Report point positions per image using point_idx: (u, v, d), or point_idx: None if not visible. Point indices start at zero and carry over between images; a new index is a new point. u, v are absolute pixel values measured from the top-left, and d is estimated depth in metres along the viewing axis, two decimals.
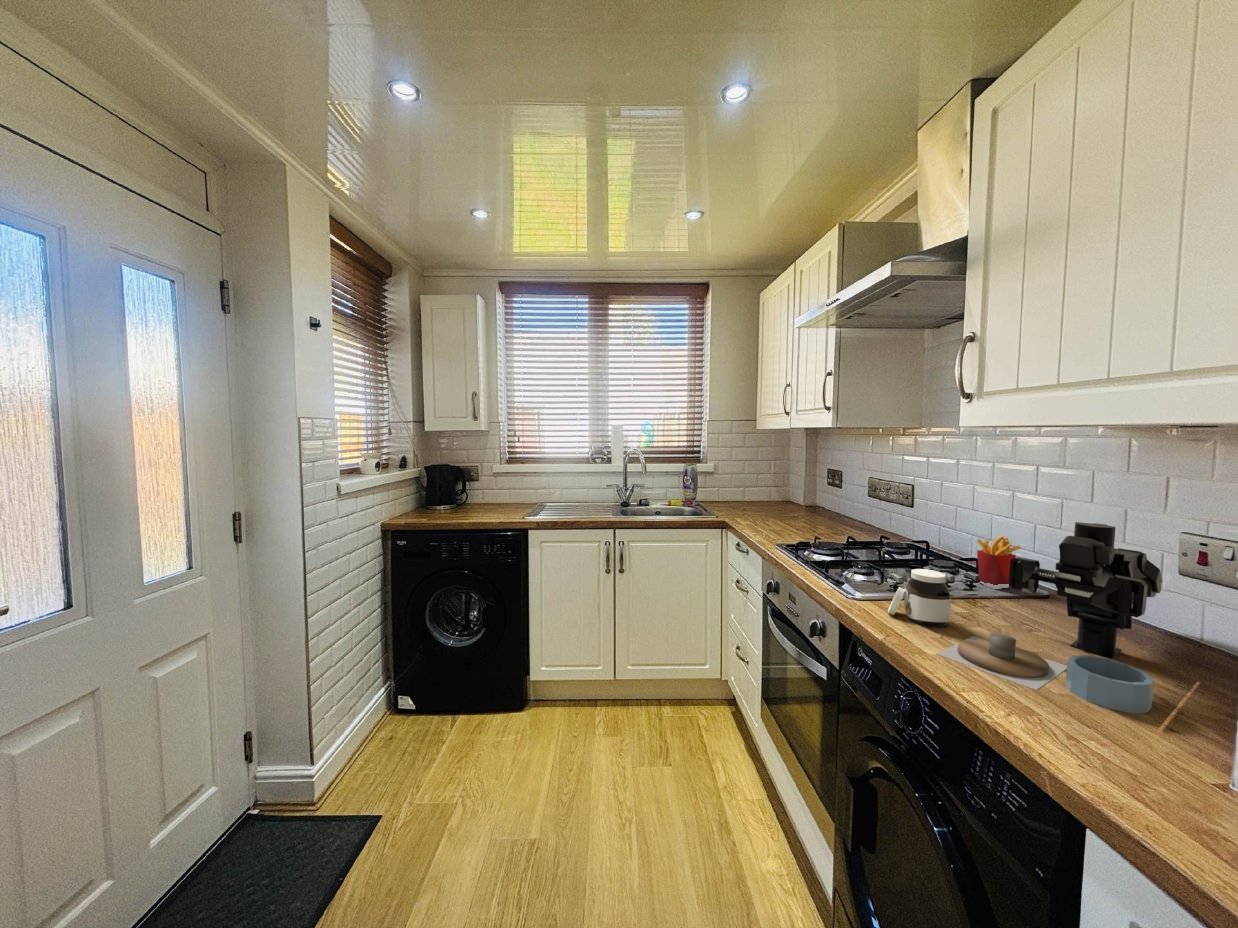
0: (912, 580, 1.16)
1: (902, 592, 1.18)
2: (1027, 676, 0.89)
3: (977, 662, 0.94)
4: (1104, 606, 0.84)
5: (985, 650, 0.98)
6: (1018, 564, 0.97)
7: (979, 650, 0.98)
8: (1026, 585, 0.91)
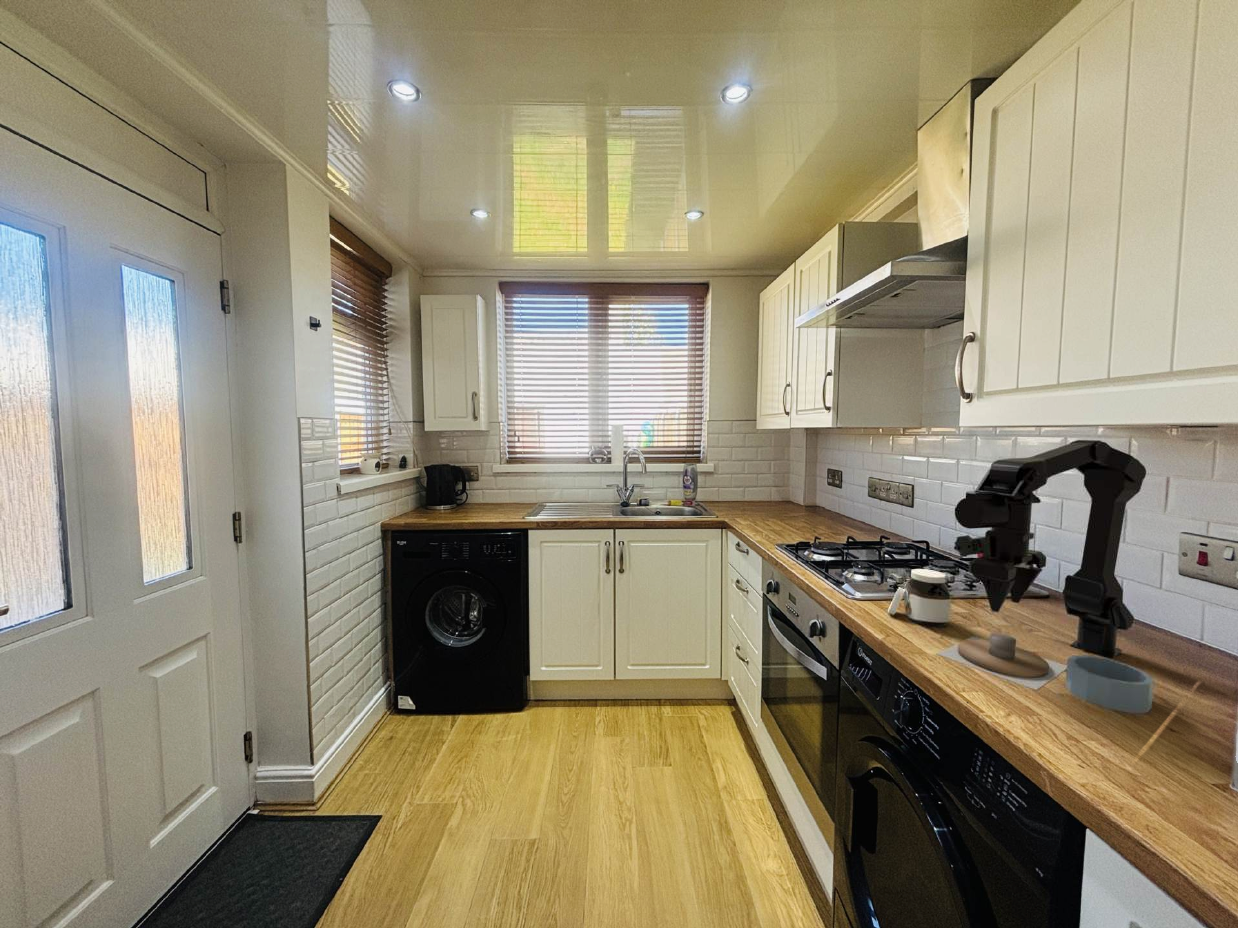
0: (912, 580, 1.16)
1: (902, 592, 1.18)
2: (1027, 676, 0.89)
3: (977, 662, 0.94)
4: (1002, 598, 0.91)
5: (985, 650, 0.98)
6: None
7: (979, 650, 0.98)
8: (1016, 598, 0.98)
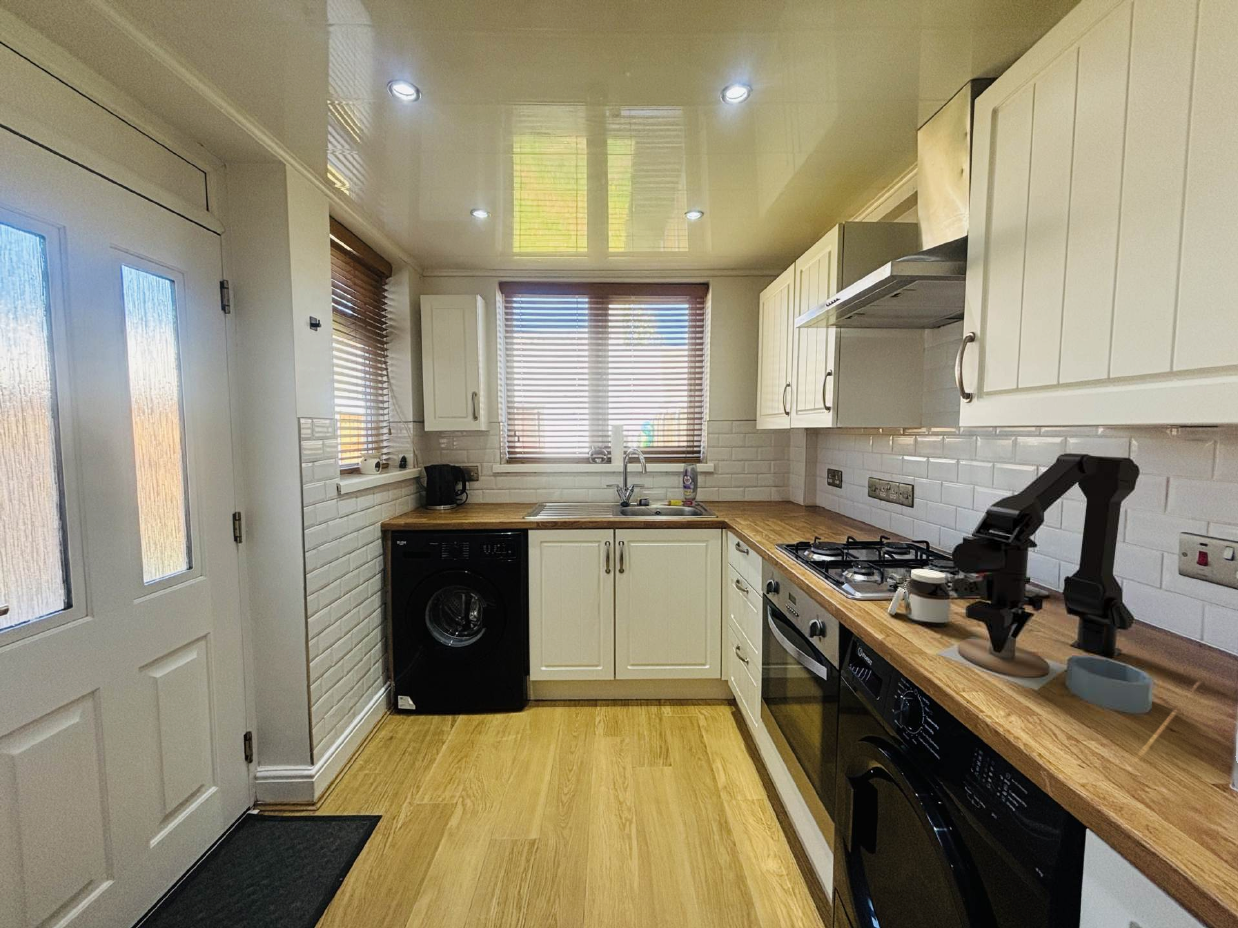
0: (912, 580, 1.16)
1: (902, 592, 1.18)
2: (1027, 676, 0.89)
3: (977, 662, 0.94)
4: (1004, 640, 0.93)
5: (985, 650, 0.98)
6: None
7: (979, 650, 0.98)
8: None
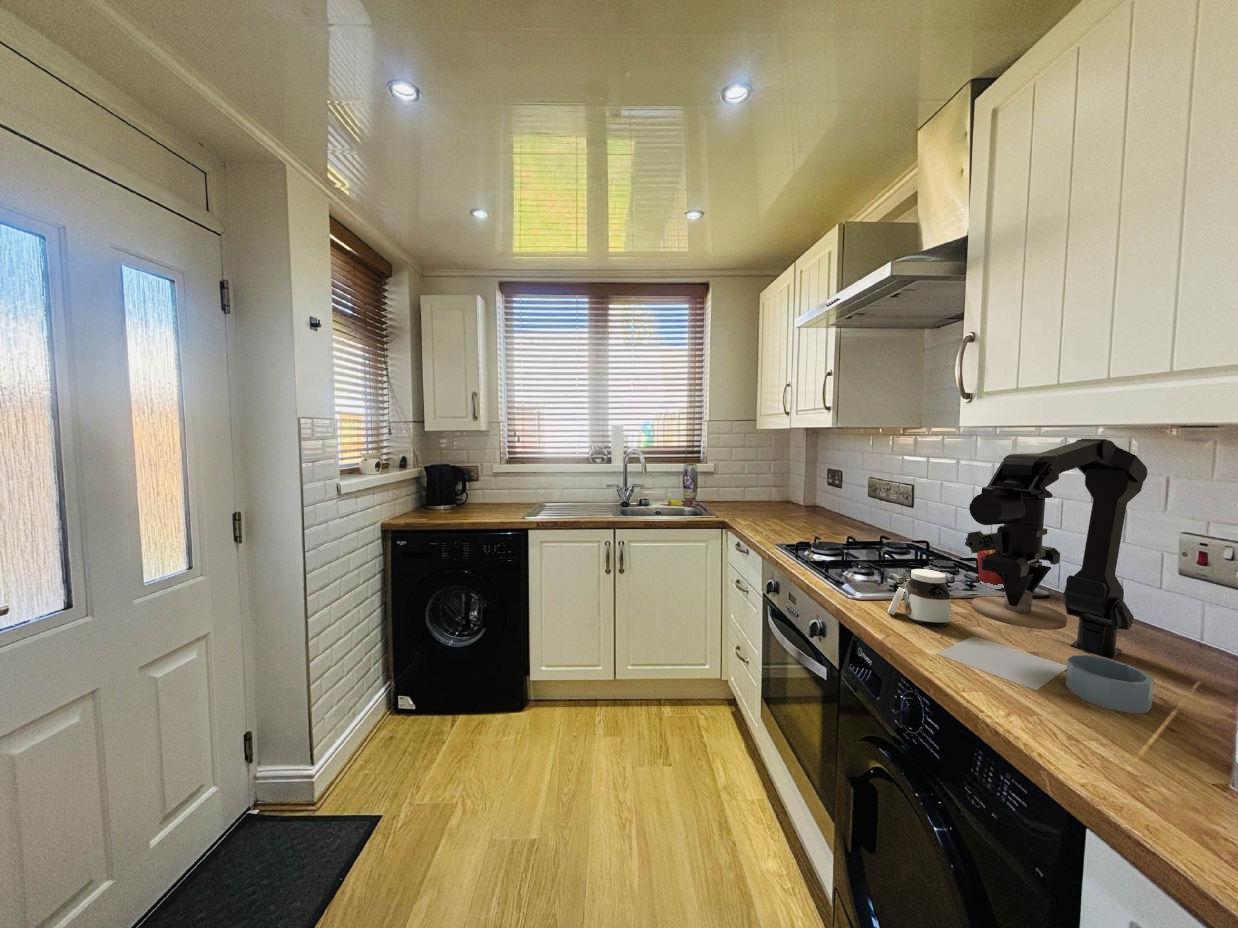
0: (912, 580, 1.16)
1: (902, 592, 1.18)
2: (1044, 627, 0.87)
3: (992, 615, 0.91)
4: (1020, 593, 0.91)
5: (1000, 605, 0.96)
6: None
7: (994, 605, 0.96)
8: None
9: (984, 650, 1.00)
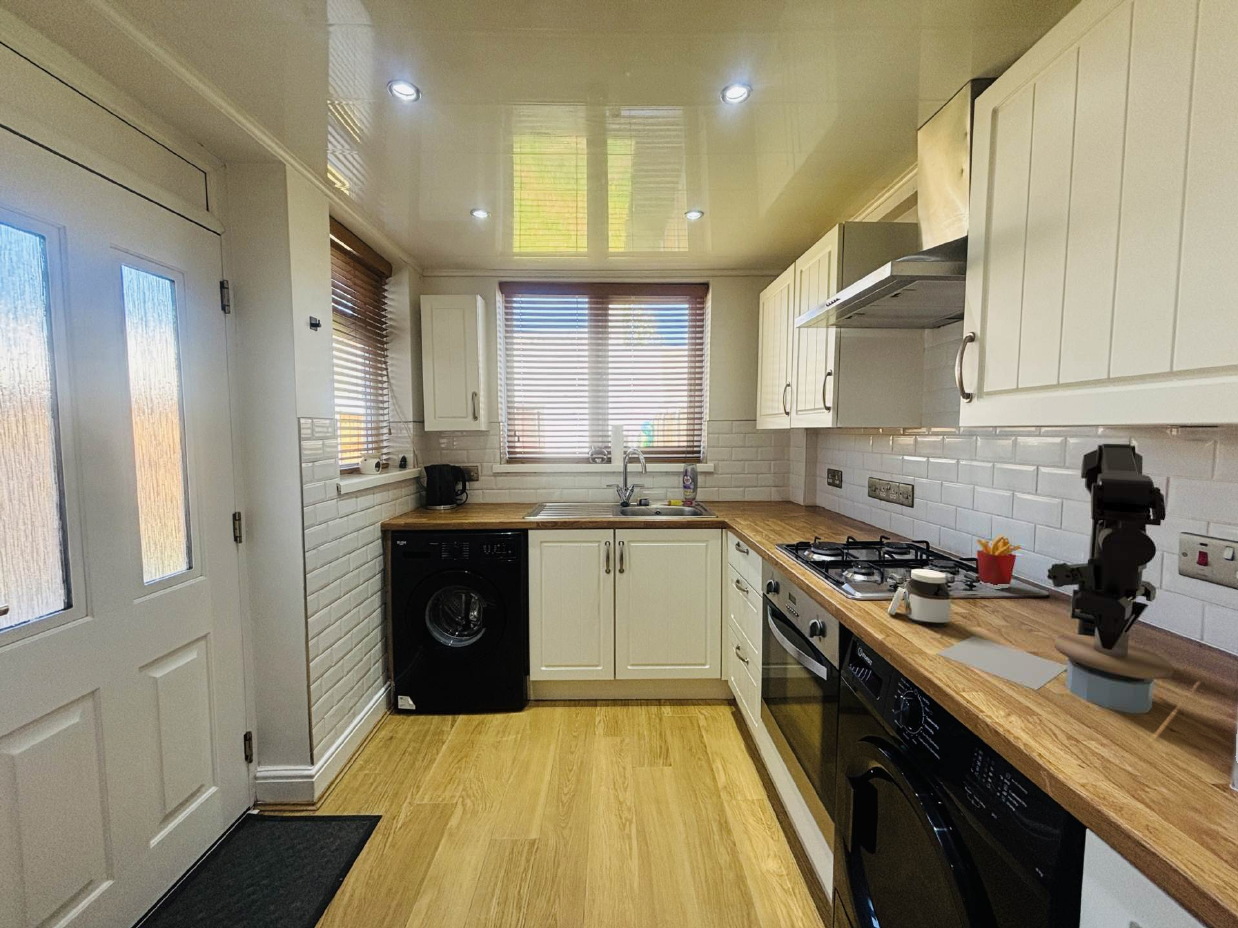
0: (912, 580, 1.16)
1: (902, 592, 1.18)
2: (1150, 677, 0.76)
3: (1085, 660, 0.81)
4: (1117, 635, 0.80)
5: (1089, 646, 0.85)
6: None
7: (1082, 646, 0.85)
8: None
9: (984, 650, 1.00)
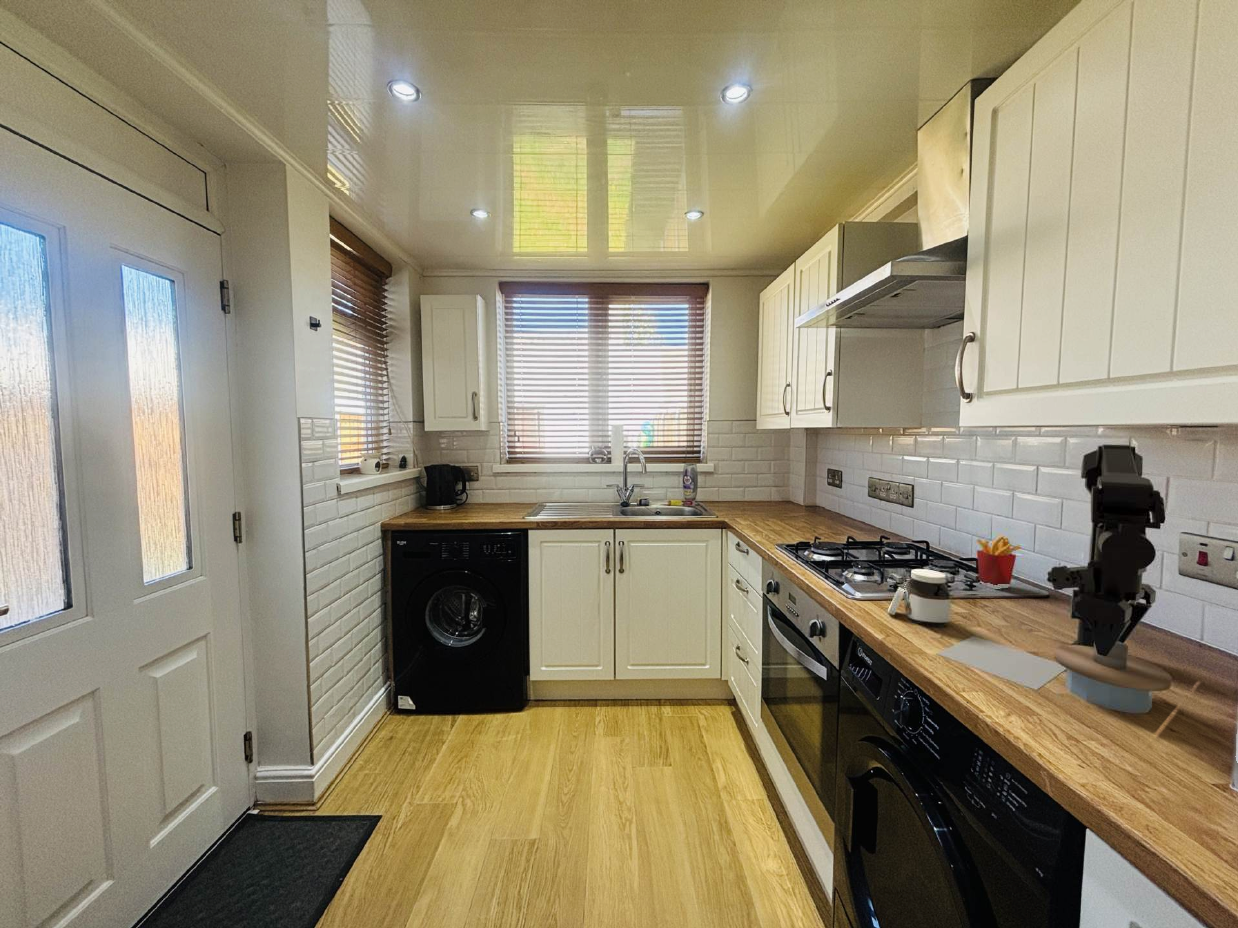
0: (912, 580, 1.16)
1: (902, 592, 1.18)
2: (1149, 689, 0.76)
3: (1085, 672, 0.81)
4: (1113, 641, 0.79)
5: (1088, 657, 0.85)
6: None
7: (1081, 657, 0.85)
8: (1120, 638, 0.85)
9: (984, 650, 1.00)
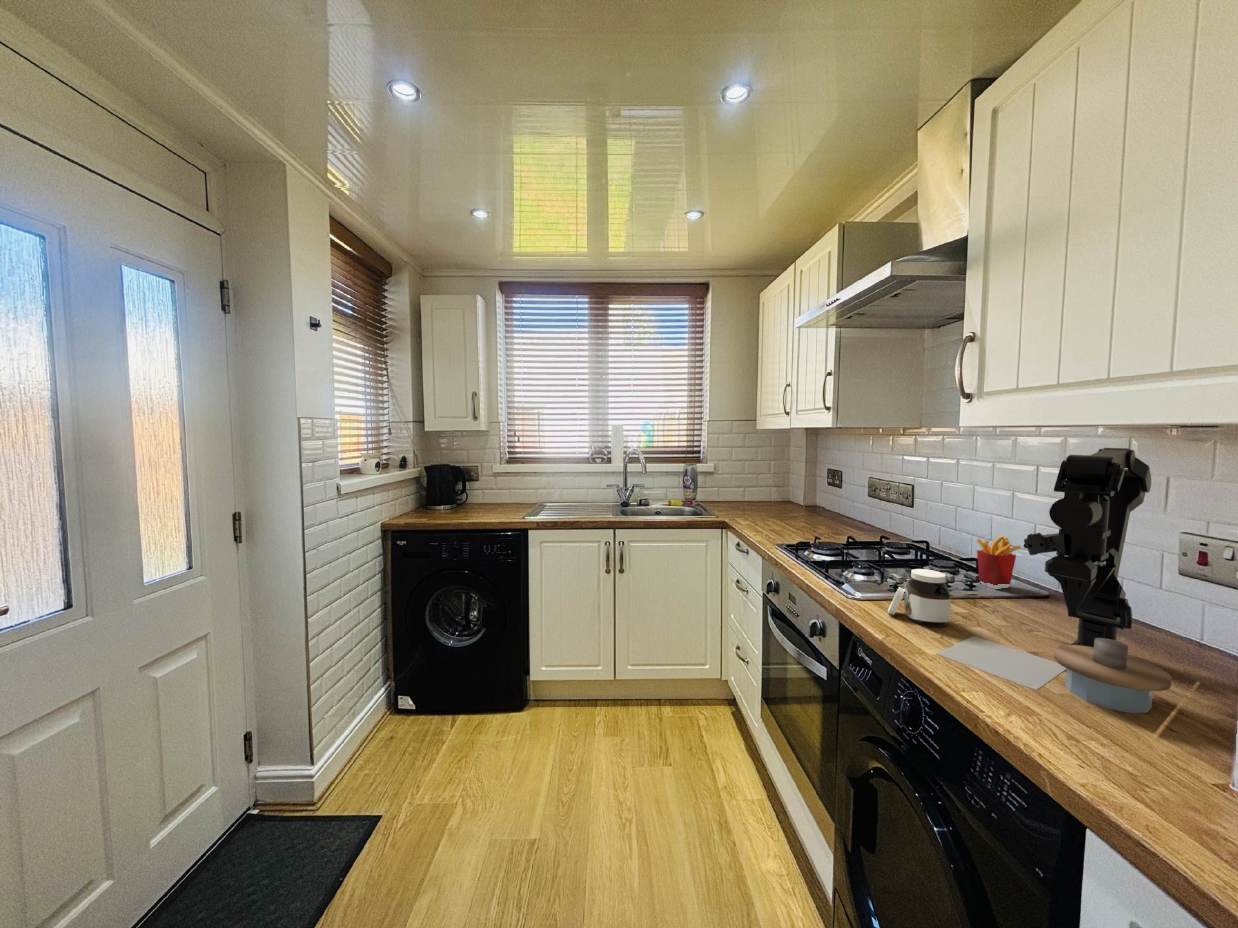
0: (912, 580, 1.16)
1: (902, 592, 1.18)
2: (1149, 689, 0.76)
3: (1085, 672, 0.81)
4: (1081, 598, 0.88)
5: (1088, 657, 0.85)
6: None
7: (1081, 657, 0.85)
8: (1088, 597, 0.95)
9: (984, 650, 1.00)
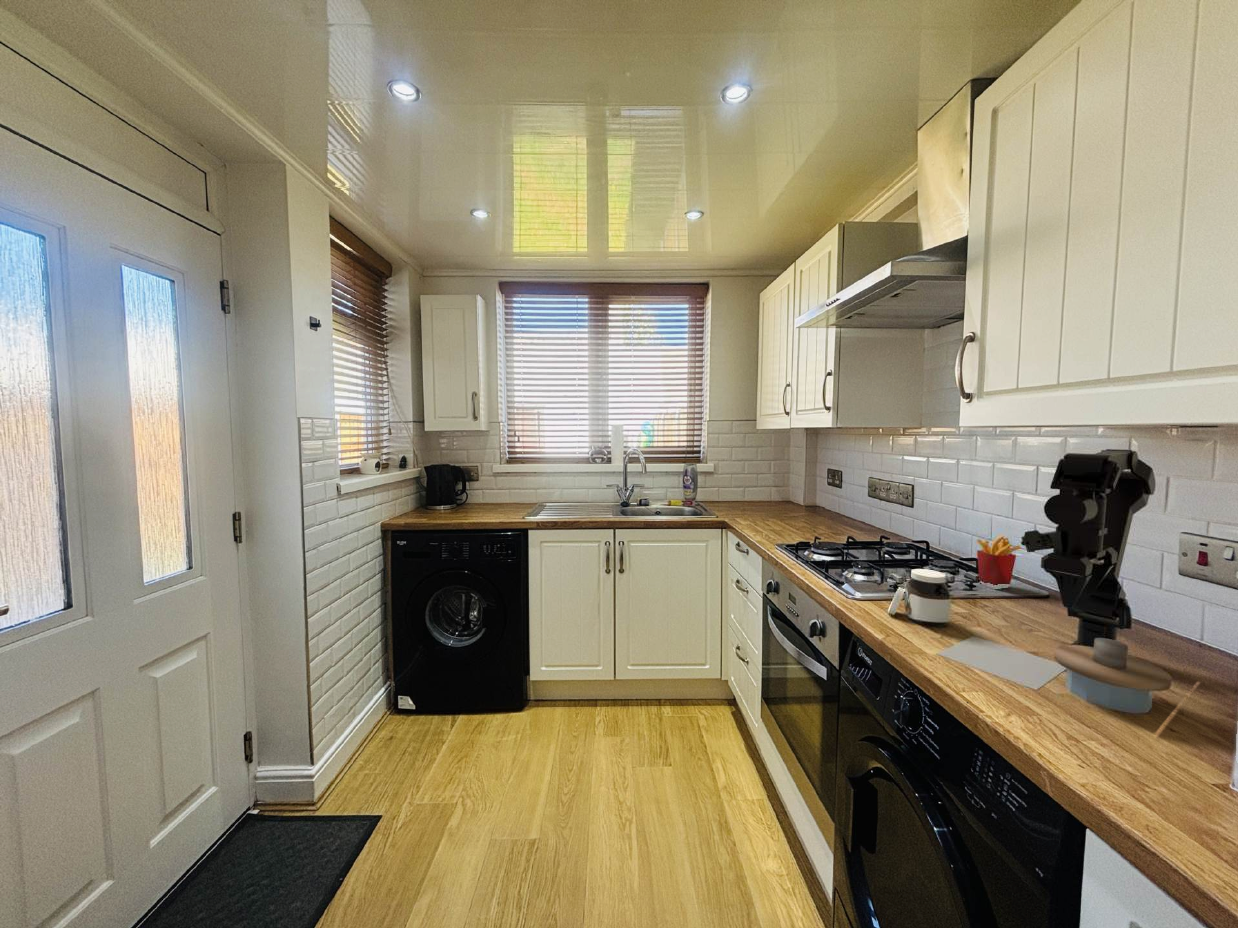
0: (912, 580, 1.16)
1: (902, 592, 1.18)
2: (1149, 689, 0.76)
3: (1085, 672, 0.81)
4: (1076, 594, 0.89)
5: (1088, 657, 0.85)
6: None
7: (1081, 657, 0.85)
8: (1085, 595, 0.96)
9: (984, 650, 1.00)
